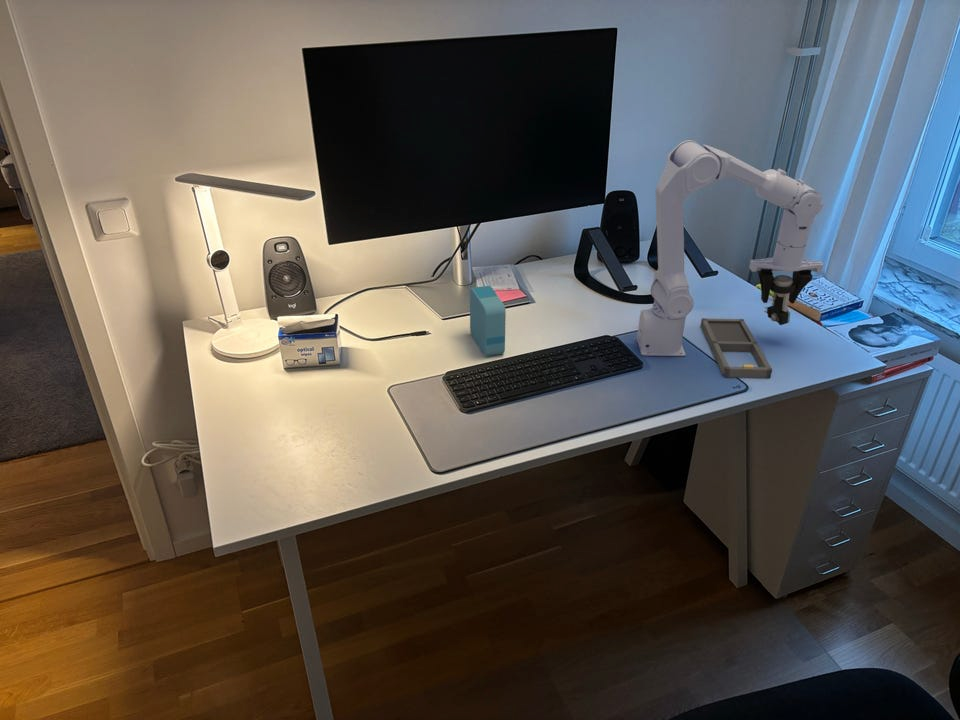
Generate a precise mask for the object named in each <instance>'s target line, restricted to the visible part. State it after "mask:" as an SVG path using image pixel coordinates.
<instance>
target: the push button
mask: <svg viewBox="0 0 960 720" xmlns="http://www.w3.org/2000/svg"><path fill="white" fill-rule="evenodd" d="M774 278H775V279H774V281H773V284H772V286H771V289H770V292H773V295H772V296H773V298H772V303H771V305H770V306H765V307H764V309H766V310H763V311H764V313H766V314H767V317H768V318H769V319H770V320H771V321H772V322H777V323H778V325H779V326H783V325H786V324H789V323H790V319H791V318H790V317H791V312H790V310H789V309H788V307H789V302H790V301H789V294H790V293H792V292H793V291H794V288H795V287H796V282H795V281H794V280H792V276H790V275H785V274H780V275H776V276H775V277H774Z"/></svg>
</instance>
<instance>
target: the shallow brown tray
mask: <svg viewBox="0 0 960 720" xmlns="http://www.w3.org/2000/svg"><path fill="white" fill-rule="evenodd" d="M700 328H701V331H702V333H703V334H704V338H705V339H706V341H707V344H708V346H709V348H710V350H711V352H712V355H713V357H714V359H715V361H716V363H717V365H718V368H719V370H720V372H721V374H722V377H723V378H739V379H740V378H744V379H745V378H747V379H748V378H751V379H771V378H772V373H773V369H772V366H771V365H770V363H769V362H768V360H767V358H766V357H765V355H764V353H763V350H762V349H761V347H760V345H759V344H758V342H757V341H756V339H755V337H754V335H753V334H752V331H751V330H750V328H749V326H748V325H747V323H746V321H745V319H743V318H705V317H704V318H703V317H702V318H701V321H700ZM724 352H729V353H730V352H732V353H733V352H735V353H736V352H738V353H751V354H752V356H753V359H754V360H755V362H756V363H757V365H758V366H754V364H742V366H730V365H729V364H728V361H727V359H726V357H725V354H724Z"/></svg>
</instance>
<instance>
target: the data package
mask: <svg viewBox="0 0 960 720" xmlns="http://www.w3.org/2000/svg"><path fill="white" fill-rule="evenodd" d="M506 311H507V310H506V306H505V304H504V302H503V301H502V300H501V298H500V297H499V295H498V294H497V292H496V291H495V290H494V288H493V287H492V286H491V285H484V286H476V287H471V288H470V289H469V329H470V330H469V331H470V334H471V336H472V338H473V340H474V341H475V343H476V346H477V347H478V348H479V351H480V352H481V354H482V356H484V357H488V356H495V355H502V354H504V353H505V352H506V321H507V320H506V317H507V316H506V315H507V314H506V313H507V312H506Z"/></svg>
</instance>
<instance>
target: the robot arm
mask: <svg viewBox="0 0 960 720" xmlns="http://www.w3.org/2000/svg"><path fill="white" fill-rule="evenodd" d="M726 176H728V177H730V178H732V179H734V180H737V181H740V182H742V183H744V184H746V185H749V186H752V187H753V188H754V192H755V195H756V196H757V197H758V198H761V199H763V200H765V201H767V202H770V203H772V204H773V205H775V206H778V207H780V208H782V209H784V210H783V213H782V219H781V222H780V227H779V231H778V235H777V239H776V244H775V248H774V253H773V255H772V257H767V258H765V257H764V258H759V259H750V262H749V267H748V268H749V270H750V271H751V272H752V273H754V272H755V273H756V272H757V275H758V279H759V282H760V291H761V293H760V294H761V295H760V296H761V297H760V300H761V301H762V302H763V304H768V301H769V297H770V292H771V286H772V284H773V281H774V279H775V277H774V275H773V274H774V272H792V276H791V278H792V280H794V281H795V282H796V287H795V288H794V291H793V292H792V293H790V294H789V301H788V302H789V303H790V304H795V302H796V300H797V298H798V297H799V295H800V293H801V292H802V291H803V289H804V288H805V287H806V286H807V285H808V284H809V283H810V282H811V281H812V280H813V277H814V276H813V274H812V272H815V273H816V274H821V273H822V270H823V267H824V264H823V262H822V261H821V260H813V259H812V260H811V259H806V258H804V256H805V255H804V254H805V250H806V247H807V243H808V239H809V235H810V232H811V227H812V224H814V219H815V218H816V216H817V215H818V214H819V213H820V212H821V210H822V208H823V206H824V204H823V203H822V196H821V193H819V192H818V191H817V190H816V189H814V188H812V187H811V186H810V185H807V184H806V183H805V181H804V180H802V179H800V178H797V179H794V178H792V177H790V176H788V175H787V172H786V171H785V170H783V169H781V168H778V169H777V170H775V169H773V168H772V169H771V168H770V169H767V170H765V171H761V170H760V169H757V168H755V167H753V166H752V165H750V164H748V163H747V162H744V161H742V160H741V159H738V158H737V157H735V156H733V155H731V154H729V153H728V152H726V151H723V150H721V149H717V148H715V147H712V146H710V145H707V144H702V145H701V144H700V143H699V142H697V141H695V140H691V139H689V140H688V139H687V140H684V141H682V142H680V143H679V144H677V145H676V146H675V147H674V148H673V149H672V150H671V151H670V152H669V153H668V154H667V157H666V165H665V168H664V169H663V172H662V174H661V176H660V179H659V181H658V183H657V184H656V188H655V210H656V211H655V212H656V214H655V216H656V218H655V219H656V238H657V239H656V242H657V245H656V246H657V266H658V267H657V270H655V271H654V273H653V274H654V275H653V276H654V277H653V280H652V283H651V285H650V294H651V296H652V298H653V304H652V307H651V308H649V309H644V310H641V311H640V314H639V319H638V320H639V321H638V327H637V328H638V329H637V335H636V342H637V344H638V348H639V351H640V355H641V356H652V357H653V356H654V357H686V352H685V348H684V347H683V344H682V341H683V335H684V330H685V324H686V317H687V316H688V315H689V314H690V312H691V311H692V310H693V307H694V299H693V296H692V295H691V293H690V289H689V288H690V286H689V283H688V280H687V276H686V273H685V235H684V234H685V233H684V232H685V231H684V226H685V225H684V224H685V223H684V222H685V221H684V220H685V219H684V200H686V199H687V198H688V196H690V195H692V194H693V193H696V192H697V191H699V190H701V189H703V188H704V187H707V185H709V184H711V183H712V182H713V181H714V180H717V181H720V180H722V179H724V178H726ZM773 271H774V272H773Z"/></svg>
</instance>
